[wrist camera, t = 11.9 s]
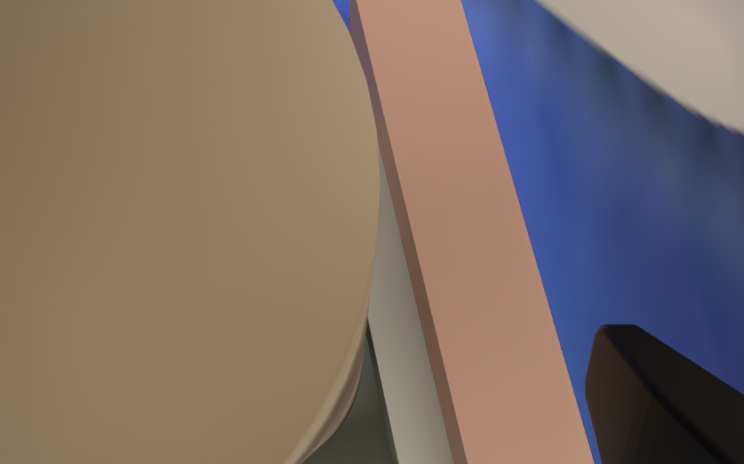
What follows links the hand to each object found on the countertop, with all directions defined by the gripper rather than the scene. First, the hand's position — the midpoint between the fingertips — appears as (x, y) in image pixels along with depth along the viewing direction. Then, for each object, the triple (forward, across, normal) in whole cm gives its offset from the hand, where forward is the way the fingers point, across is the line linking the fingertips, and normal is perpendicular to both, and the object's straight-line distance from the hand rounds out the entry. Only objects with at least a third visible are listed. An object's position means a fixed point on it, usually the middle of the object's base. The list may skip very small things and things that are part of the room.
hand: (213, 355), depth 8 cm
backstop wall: (+8, -4, +6) cm, 10 cm away
